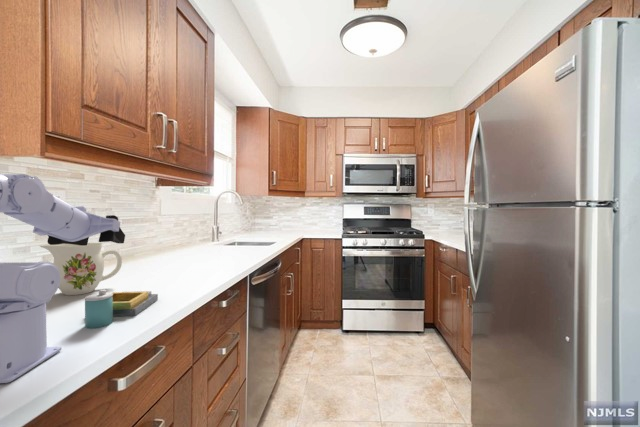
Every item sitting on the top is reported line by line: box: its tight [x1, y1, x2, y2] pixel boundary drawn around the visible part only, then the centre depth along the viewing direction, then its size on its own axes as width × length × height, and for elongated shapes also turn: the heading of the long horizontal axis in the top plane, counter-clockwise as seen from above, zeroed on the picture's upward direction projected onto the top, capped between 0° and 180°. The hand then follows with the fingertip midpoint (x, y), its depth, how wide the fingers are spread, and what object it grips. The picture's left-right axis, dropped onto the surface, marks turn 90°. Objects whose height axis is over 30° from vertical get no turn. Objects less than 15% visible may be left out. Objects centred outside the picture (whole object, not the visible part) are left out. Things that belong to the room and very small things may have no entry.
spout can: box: [84, 289, 114, 330], centre depth 59 cm, size 5×5×7 cm
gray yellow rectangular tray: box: [111, 290, 159, 317], centre depth 70 cm, size 13×10×3 cm
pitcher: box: [39, 242, 123, 296], centre depth 82 cm, size 11×18×14 cm, turn 136°
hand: (104, 240), depth 64 cm, fingers open, 7 cm apart
